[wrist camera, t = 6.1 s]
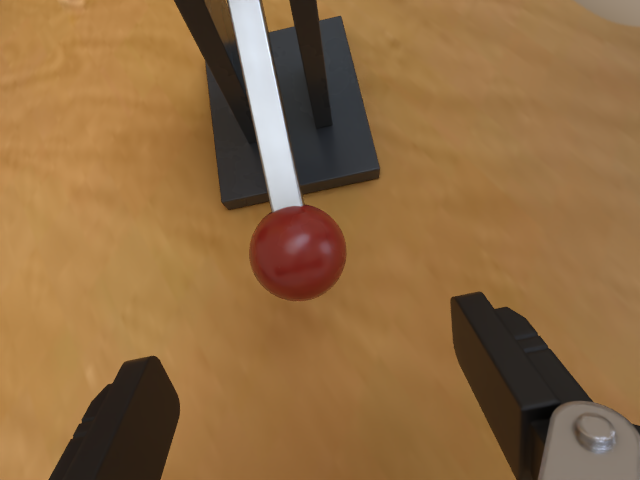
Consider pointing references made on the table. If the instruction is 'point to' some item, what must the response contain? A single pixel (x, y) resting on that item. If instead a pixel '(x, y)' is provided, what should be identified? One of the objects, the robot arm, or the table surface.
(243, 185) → the bracket
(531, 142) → the table surface
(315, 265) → the lever
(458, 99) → the table surface
